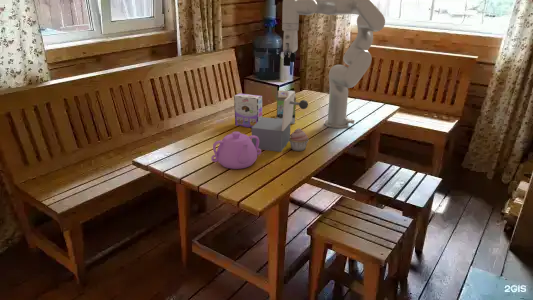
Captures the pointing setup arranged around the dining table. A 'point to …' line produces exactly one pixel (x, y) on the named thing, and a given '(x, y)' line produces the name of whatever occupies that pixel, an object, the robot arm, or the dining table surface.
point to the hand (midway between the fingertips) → (289, 63)
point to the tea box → (280, 104)
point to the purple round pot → (236, 151)
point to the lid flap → (291, 109)
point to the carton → (271, 134)
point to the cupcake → (298, 140)
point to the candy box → (247, 109)
